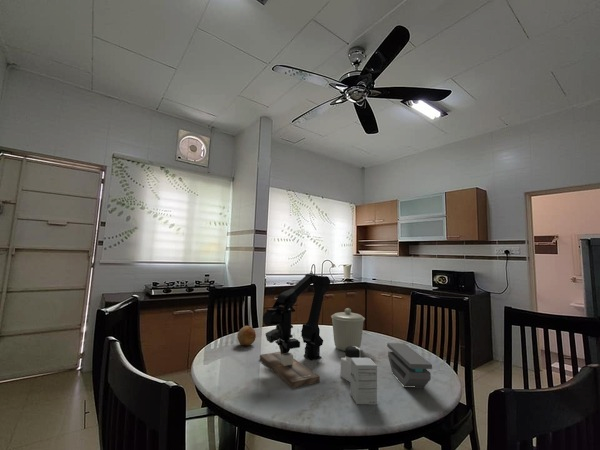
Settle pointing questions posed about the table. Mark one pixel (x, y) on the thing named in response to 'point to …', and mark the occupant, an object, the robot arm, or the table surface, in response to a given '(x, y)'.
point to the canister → (347, 329)
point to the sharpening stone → (408, 365)
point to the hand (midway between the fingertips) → (283, 359)
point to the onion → (246, 335)
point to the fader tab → (287, 359)
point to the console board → (290, 370)
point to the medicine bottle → (348, 361)
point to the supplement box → (363, 381)
